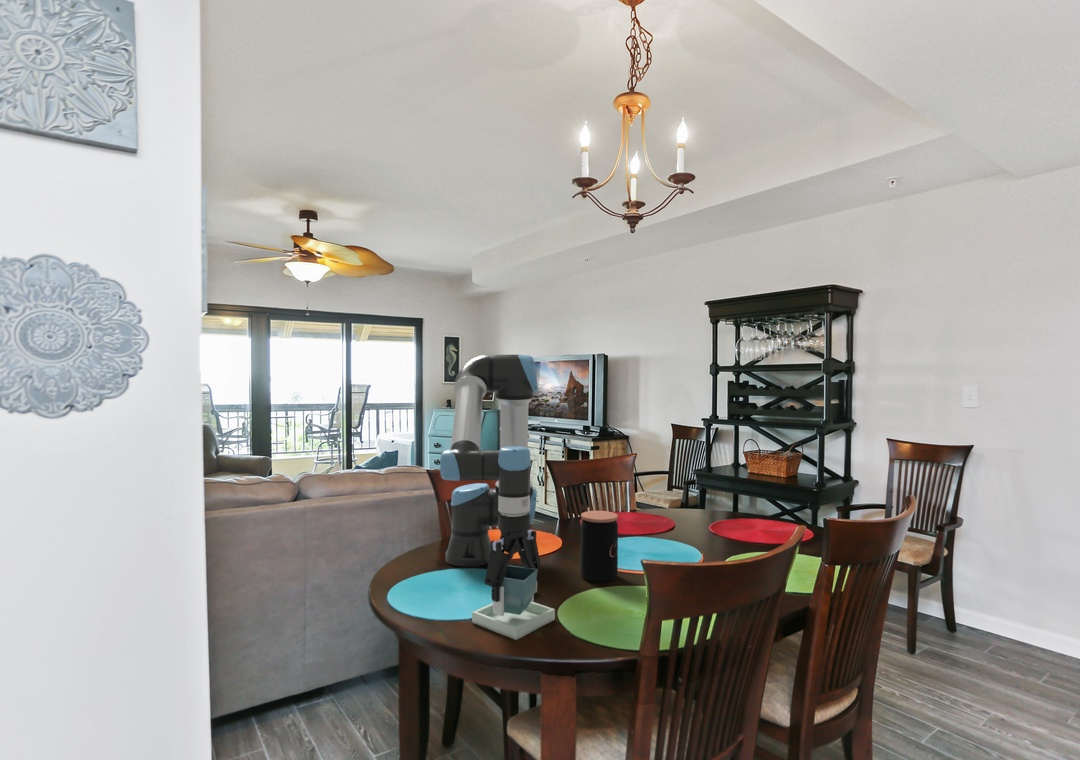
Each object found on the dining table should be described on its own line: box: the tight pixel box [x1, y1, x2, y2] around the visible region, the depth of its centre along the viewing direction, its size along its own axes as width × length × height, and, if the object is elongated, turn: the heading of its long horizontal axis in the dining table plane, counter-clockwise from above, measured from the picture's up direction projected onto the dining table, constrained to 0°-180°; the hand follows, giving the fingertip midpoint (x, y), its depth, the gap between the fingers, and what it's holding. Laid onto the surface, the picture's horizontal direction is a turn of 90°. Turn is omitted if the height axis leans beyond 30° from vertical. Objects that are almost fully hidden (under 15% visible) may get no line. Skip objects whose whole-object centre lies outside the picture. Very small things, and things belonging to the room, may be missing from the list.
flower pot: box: [497, 564, 539, 615], centre depth 134 cm, size 9×9×9 cm
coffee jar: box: [580, 510, 619, 584], centre depth 164 cm, size 11×11×18 cm
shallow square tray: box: [471, 601, 556, 641], centre depth 134 cm, size 14×14×2 cm
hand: (513, 607), depth 134 cm, fingers closed on flower pot, 10 cm apart
